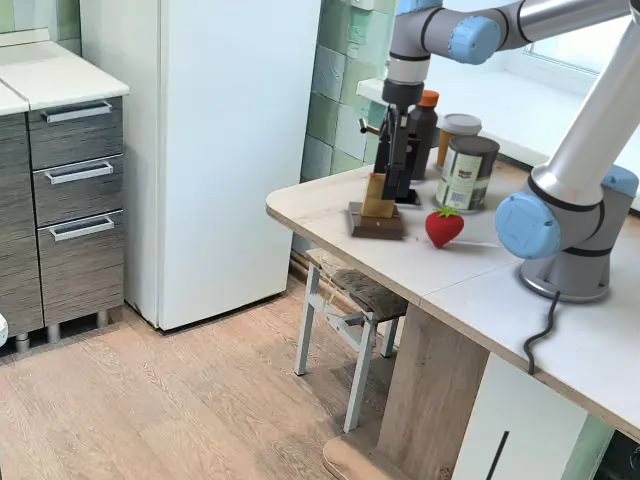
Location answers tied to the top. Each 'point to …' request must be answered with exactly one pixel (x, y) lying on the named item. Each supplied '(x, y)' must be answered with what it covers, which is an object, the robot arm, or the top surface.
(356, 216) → the plate
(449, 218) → the strawberry
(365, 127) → the door handle
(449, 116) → the disposable coffee cup
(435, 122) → the bottle
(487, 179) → the coffee can
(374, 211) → the thumb turn
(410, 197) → the bracket
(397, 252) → the top surface
